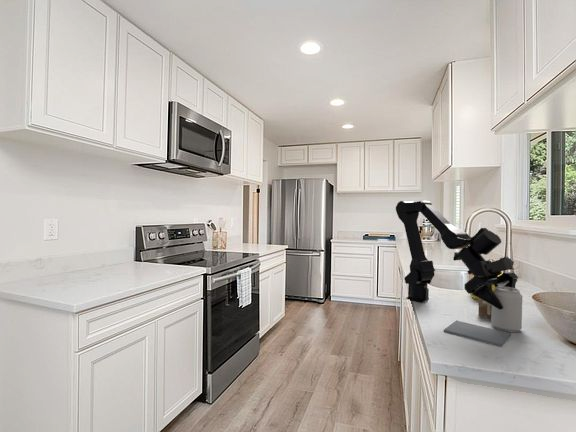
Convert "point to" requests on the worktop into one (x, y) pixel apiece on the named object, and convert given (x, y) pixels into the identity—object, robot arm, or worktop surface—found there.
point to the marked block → (484, 309)
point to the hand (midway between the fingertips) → (511, 306)
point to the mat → (478, 333)
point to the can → (507, 309)
